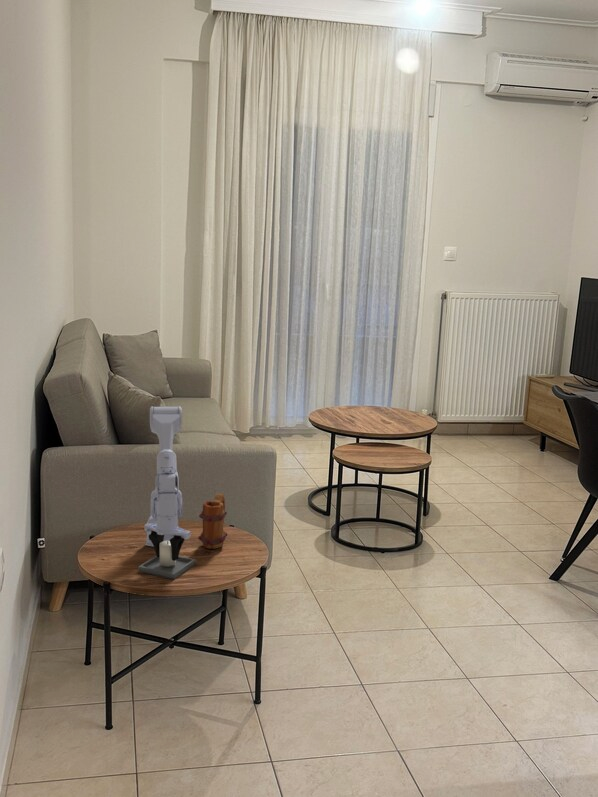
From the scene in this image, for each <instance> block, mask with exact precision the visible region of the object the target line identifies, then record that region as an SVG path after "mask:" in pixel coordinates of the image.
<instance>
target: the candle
mask: <svg viewBox="0 0 598 797" xmlns="http://www.w3.org/2000/svg"><path fill="white" fill-rule="evenodd" d="M159 548H160V565H162V566H173V565H175V564H176V560H175V561H173V560H172V548H171V544H170V541H163V542H161V543H160V544H159Z"/></svg>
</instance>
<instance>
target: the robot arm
mask: <svg viewBox="0 0 598 797" xmlns="http://www.w3.org/2000/svg"><path fill="white" fill-rule="evenodd" d="M182 425H183V408H182V407H181V406H180V405H178V406H153V405H151V406H150V407H149V426H150V430H151V431H150V432H151V433H154V434H155V435H156V436H157V438H158V441H159V443H158V447H159V451H158V454H157V455H156V477H155V489H154V490H152V492H151V493H150V516H149V518H148V519H147V522H146V523H145V524H144V525H143V527H144V532H146V543H145V546H149V547H153V549H154V551H155V554H156V555H157V557H160V548H159V544H160V543H161V542H163V541H170V544H171V548H172V560H173V561H175V560H177V559H178V556H180V552H181V548H182V546H183V544H184V542H185V541H187V540H189V539H190V538H191V531H190V530H187V529H184V528H182V527H179V517H182V515H183V494H182V491H181V490H180V488H179V487H180V486H179V483H180V480H179V478H180V477H179V474H178V469H177V468H178V463H177V454H176V453H175V452H174V450H173V449H174V448H173V447H174V445H173V444H174V437H175V435H176V434H177V433H181V430H182ZM156 555H155V556H156Z"/></svg>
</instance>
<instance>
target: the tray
mask: <svg viewBox="0 0 598 797" xmlns="http://www.w3.org/2000/svg"><path fill="white" fill-rule="evenodd" d="M196 562H197V560H196V559H195V558H191V557H186V556H183V555H179V556H178V559H177V560H176V564H175V565H173V566H162V565H160V557H157V555H154V556H152V557H151V558H150V559H148V560H146V561H145V562H143V563H142V564H140V565H139V566H138V568H137V569H138V570H137V571H138V573H143V574H148V575H151V576H155V577H160V578H165V579H169V580H172V581H174V580H176V579H177V578H178V577H180V576H182V575H183V574H184V573H186V572H187V571H189V570H190V569H191V568H193V567H194V566H196V564H197V563H196Z"/></svg>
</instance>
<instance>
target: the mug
mask: <svg viewBox="0 0 598 797" xmlns="http://www.w3.org/2000/svg"><path fill="white" fill-rule="evenodd" d="M225 499H226V498H225V496H224V494H223V493H216V494H215V496H214V499H213V501H212V500H207V501H206V502H203V504H202V511H201V512H200V514H199V515H198V517H199V518H201V519H202V532H201V533H200V535H199V536H198V541H200V542H201V543H202V546H203V547H204V548H205V549H211V550H215V549H220V548H221V547H223V545H224V542H225V540H226V537H227V536H228V533H227V532H226V531H225V530H224V524H225V523H224V522H225V520H224V519H225V517H226V516H227V511H225V510H226V502H225V501H226V500H225Z"/></svg>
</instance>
